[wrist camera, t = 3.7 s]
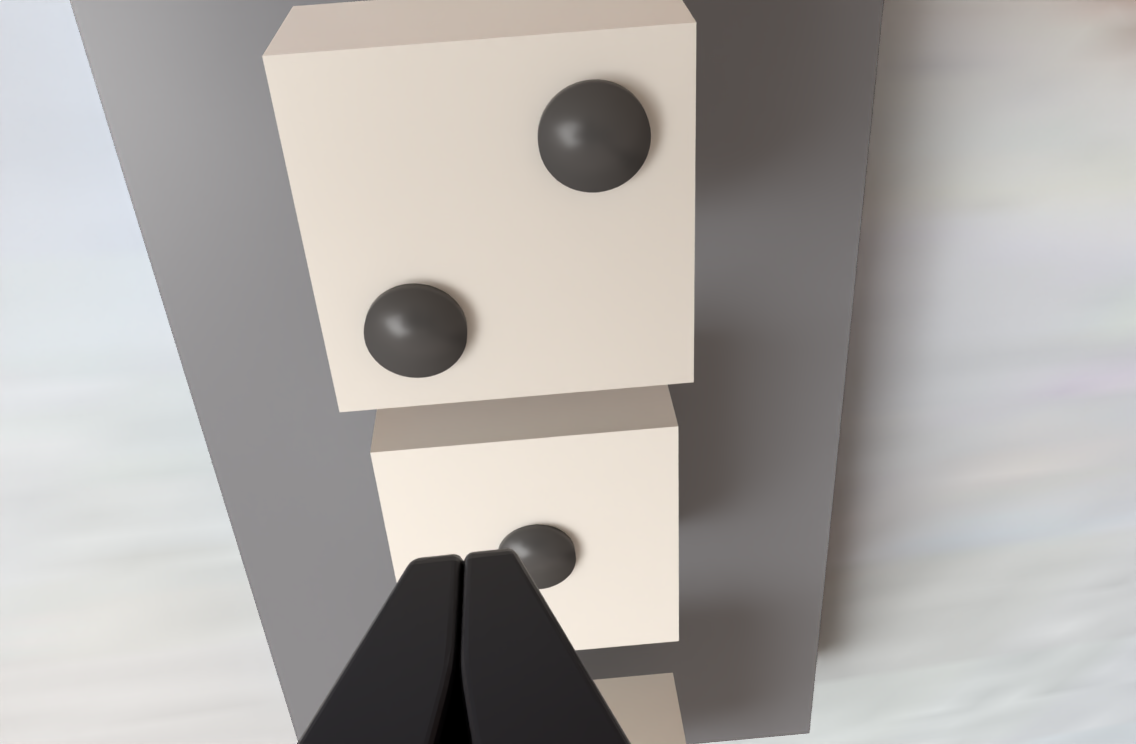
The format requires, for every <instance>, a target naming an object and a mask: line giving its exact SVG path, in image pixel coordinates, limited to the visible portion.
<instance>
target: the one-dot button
mask: <svg viewBox="0 0 1136 744" xmlns="http://www.w3.org/2000/svg"><path fill="white" fill-rule="evenodd" d="M370 454H371V459H372V464H373V469H374V474H375V479H376V484H377V489H378V494H379V499H380V504H381V509H382V513H383V518H384V523H385V528H386V533H387V538H388V543H389V548H390V553H391V558H392V563H393V568H394V573H395V577H396V582H398V580H399V579H400V577H401V575H402V574H403V572H404V571H405V569H406V567H407V566H408V564H409V563H410V562H411V561H413V560H414V559H416V558H421V557H431V556H440V555H449V554H457V555H459V556H460V557H461V558H462V559H463V560H464V559H465V557H466V555H468V554H469V553H471V552H477V551H486V550H496V549H505V548H509V549H512V550H514V551H515V552H516V553H517V554H518V555H519V557H520V559H521V560H522V562H523V564H524V565H525V567H526V569H527V570H528V572H529V574H530V575H531V577H532V579H533V580H534V582H535V584H536V585H537V587H538V589H539V590H540V592H541V594H542V595H543V597H544V599H545V601H546V602H547V604H548V606H549V607H550V609H551V611H552V612H553V614H554V616H555V617H556V619H557V621H558V622H559V624H560V626H561V627H562V629H563V631H564V632H565V634H566V636H567V637H568V639H569V641H570V642H571V644H572V646H573V647H574V649H575V650H585V649H596V648H607V647H618V646H629V645H640V644H651V643H662V642H673V641H679V480H678V423H677V419H676V415H675V411H674V407H673V404H672V400H671V396H670V392H669V388H668V385H656V386H644V387H632V388H621V389H609V390H597V391H585V392H573V393H562V394H550V395H538V396H526V397H515V398H503V399H491V400H479V401H467V402H456V403H444V404H432V405H420V406H409V407H397V408H385V409H377V412H376V418H375V425H374V431H373V438H372V444H371V451H370Z"/></svg>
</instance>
